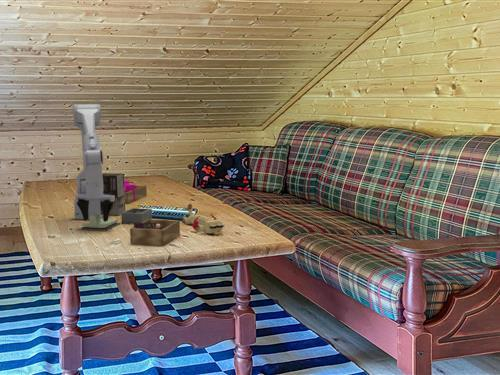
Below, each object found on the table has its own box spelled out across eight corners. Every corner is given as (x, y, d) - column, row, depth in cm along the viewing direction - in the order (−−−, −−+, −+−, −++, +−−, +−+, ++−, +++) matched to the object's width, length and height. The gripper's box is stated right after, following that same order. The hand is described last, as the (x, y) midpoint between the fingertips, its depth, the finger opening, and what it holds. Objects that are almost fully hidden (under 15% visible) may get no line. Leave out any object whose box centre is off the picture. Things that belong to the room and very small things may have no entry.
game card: (133, 222, 200) (160, 222, 199) (137, 224, 205) (163, 224, 204) (132, 243, 199) (159, 243, 198) (136, 244, 204) (163, 245, 203)
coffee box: (126, 212, 251) (124, 173, 249) (118, 215, 245) (117, 175, 242) (105, 211, 253) (104, 172, 251) (98, 214, 247) (96, 174, 245)
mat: (81, 229, 221) (81, 227, 221) (95, 222, 231) (95, 221, 231) (107, 230, 219) (107, 229, 218) (120, 223, 229) (120, 222, 229)
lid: (81, 228, 220) (81, 215, 219) (96, 222, 230) (95, 209, 230) (104, 229, 218) (103, 216, 217) (117, 223, 228) (117, 210, 228)
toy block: (115, 196, 288) (114, 181, 286) (128, 196, 290) (128, 180, 289) (121, 202, 274) (120, 185, 273) (135, 201, 276) (134, 184, 275)
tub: (121, 223, 230) (121, 212, 229) (132, 218, 240) (132, 208, 239) (141, 224, 228) (141, 213, 228) (151, 218, 238) (151, 208, 237)
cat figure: (176, 228, 229) (205, 236, 207) (175, 204, 228) (204, 210, 206) (201, 225, 233) (231, 232, 212) (200, 202, 233) (230, 207, 211)
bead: (134, 219, 235) (133, 212, 234) (137, 217, 237) (136, 210, 237) (140, 219, 234) (140, 212, 234) (143, 218, 237) (143, 210, 236)
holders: (121, 248, 193) (120, 233, 192) (99, 196, 290) (98, 186, 290) (188, 243, 199) (188, 228, 198) (144, 194, 297) (144, 183, 296)
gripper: (70, 184, 216) (71, 221, 218) (108, 185, 213) (109, 223, 215) (79, 181, 223) (81, 218, 225) (116, 182, 220) (118, 219, 222)
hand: (95, 220), depth 221 cm, fingers open, 7 cm apart
